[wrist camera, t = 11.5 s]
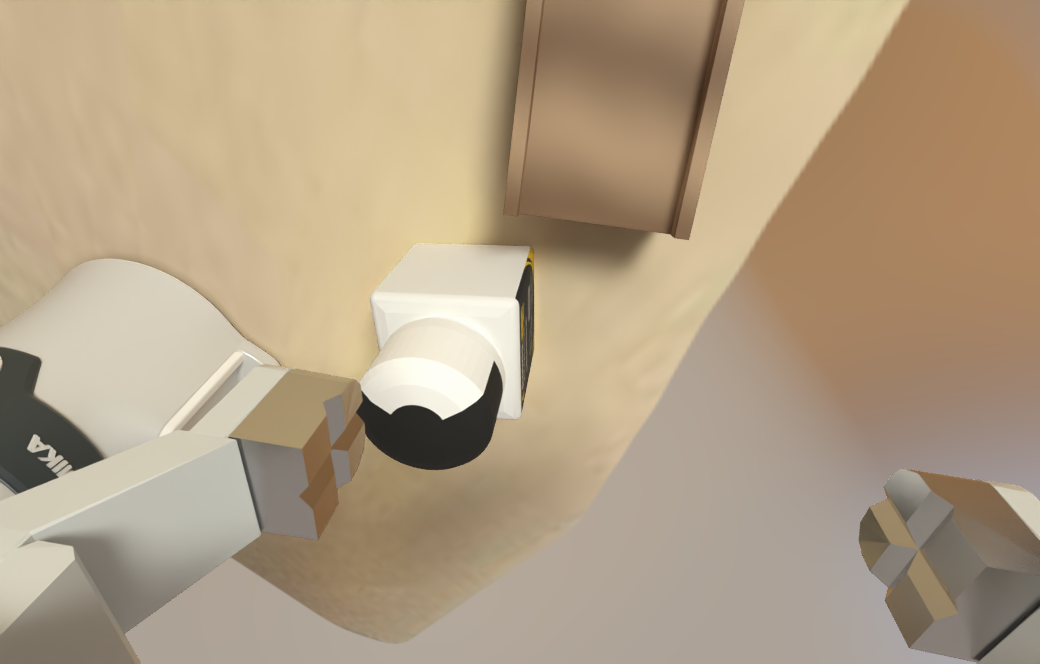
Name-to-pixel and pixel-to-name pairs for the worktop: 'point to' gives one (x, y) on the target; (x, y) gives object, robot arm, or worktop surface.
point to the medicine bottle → (449, 351)
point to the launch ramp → (618, 109)
